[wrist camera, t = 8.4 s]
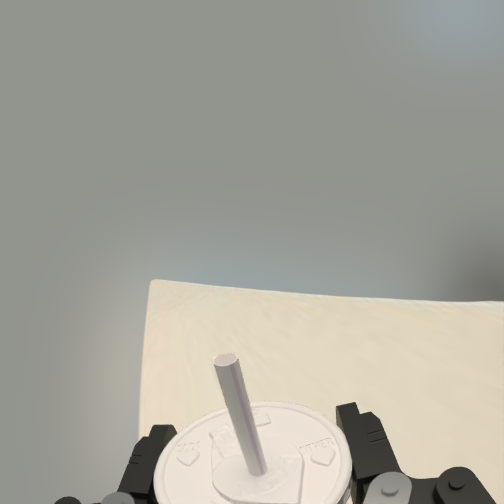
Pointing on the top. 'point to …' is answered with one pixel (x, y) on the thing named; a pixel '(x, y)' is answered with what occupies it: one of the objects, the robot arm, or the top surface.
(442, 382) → the top surface
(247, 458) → the smoothie
